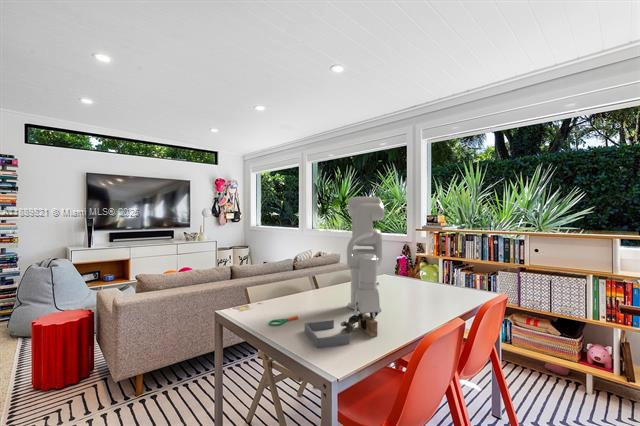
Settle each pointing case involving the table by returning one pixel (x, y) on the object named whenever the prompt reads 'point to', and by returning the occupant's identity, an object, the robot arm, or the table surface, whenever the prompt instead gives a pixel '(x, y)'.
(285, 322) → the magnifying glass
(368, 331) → the brown rectangular block
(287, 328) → the table surface
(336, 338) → the grey bent bar
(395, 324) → the table surface
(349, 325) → the eagle figurine
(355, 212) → the robot arm
